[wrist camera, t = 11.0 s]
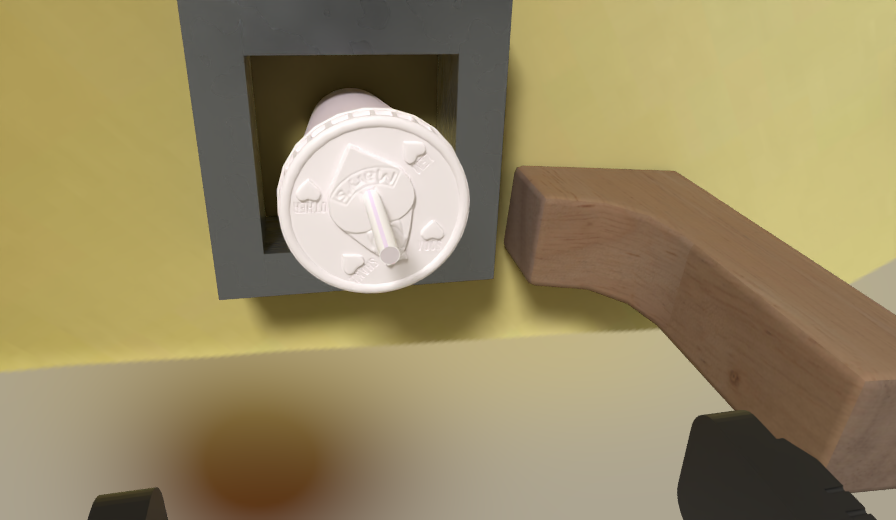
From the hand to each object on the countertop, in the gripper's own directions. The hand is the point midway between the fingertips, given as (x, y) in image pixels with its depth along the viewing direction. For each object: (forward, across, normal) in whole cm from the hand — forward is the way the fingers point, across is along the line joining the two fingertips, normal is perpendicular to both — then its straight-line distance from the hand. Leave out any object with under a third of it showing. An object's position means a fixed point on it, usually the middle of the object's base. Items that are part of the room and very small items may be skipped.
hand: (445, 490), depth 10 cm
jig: (+23, 0, +1) cm, 23 cm away
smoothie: (+23, 0, +1) cm, 23 cm away
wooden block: (+23, -13, +6) cm, 27 cm away
